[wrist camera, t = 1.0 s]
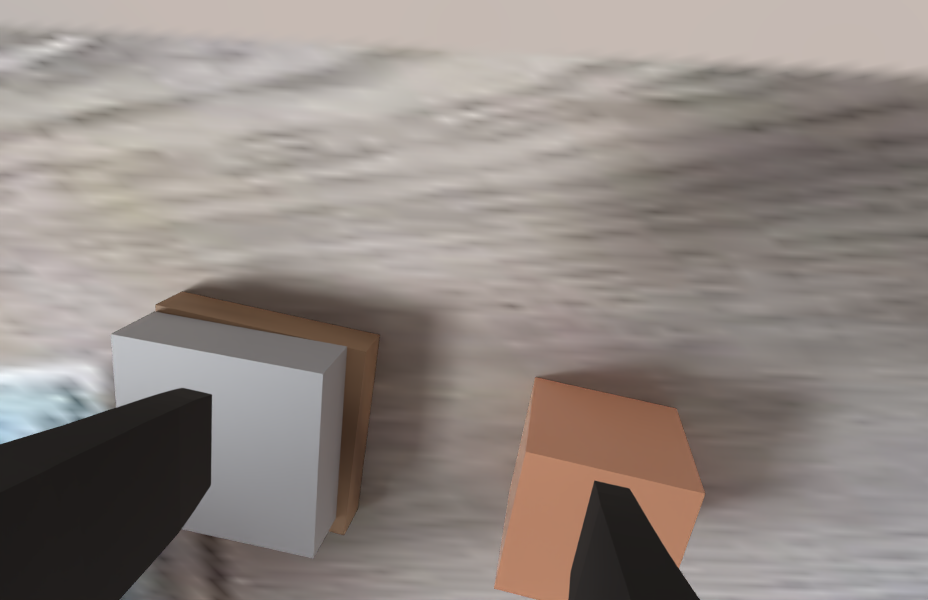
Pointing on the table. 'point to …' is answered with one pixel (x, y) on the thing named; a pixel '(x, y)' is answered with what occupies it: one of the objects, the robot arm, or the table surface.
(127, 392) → the slate slab
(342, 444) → the walnut slab
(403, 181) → the table surface
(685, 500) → the terracotta block
